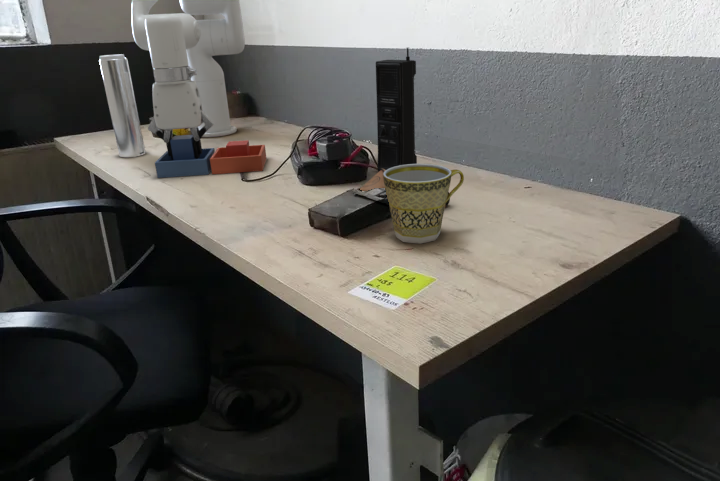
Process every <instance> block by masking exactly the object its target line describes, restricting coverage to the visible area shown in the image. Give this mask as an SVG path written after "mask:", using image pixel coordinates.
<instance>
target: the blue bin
mask: <svg viewBox="0 0 720 481" xmlns="http://www.w3.org/2000/svg"><path fill="white" fill-rule="evenodd" d="M215 151H216V149H215V147H210V148H209V147H207V148H206V147H205V148H202V154H200V157H199V158H198V159H193V160H178V161H174V160H171V156H169V155H168V150H166V152H164V153H163V154H162V155H161V156H160V157H159V158H158V159H157V160H156V161H155V162H154V165H155V166H154V167H155V171H156V172H155V173H156V178H157V179H162V178H177V177H178V178H179V177H192V176H205V175H207V176H208V175H209V174H210V173H211V172H212V170H211V163H210V158H211V157H212V155H213V154H214V152H215Z"/></svg>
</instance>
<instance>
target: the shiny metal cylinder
mask: <svg viewBox="0 0 720 481" xmlns="http://www.w3.org/2000/svg"><path fill="white" fill-rule="evenodd" d="M98 62H99V65H100V72H101V75H102V80H103V81H102V82H103V85H104V91H105V94H106V101H107V104H108V108H109V109H108V110H109V114H110V119H111V123H112V127H113V128H112V129H113V133H114V137H115V142H116V146H117V151H118V155H119V157H120V158H136V157H140V156H143V155H145V154H146V148H145V142H144V138H143V133H142V127H141V122H140V117H139V112H138V106H137V103H136V96H135V91H134V86H133V80H132V76H131V71H130V66H129V61H128V57H125V54H124V53H123V54H122V53H121V54H119V53H118V54H104V55H99V60H98Z"/></svg>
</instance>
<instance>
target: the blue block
mask: <svg viewBox="0 0 720 481" xmlns="http://www.w3.org/2000/svg"><path fill="white" fill-rule="evenodd" d="M193 141H194V140H193V135H192V134H186V135H185V134H182V135H174V136H172V139H171V140H170V143H171V148H172V154H173V160H174V161H178V160H193V159H196V158H195V155H194V149H193Z"/></svg>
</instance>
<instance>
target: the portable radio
mask: <svg viewBox="0 0 720 481" xmlns="http://www.w3.org/2000/svg"><path fill="white" fill-rule="evenodd" d="M409 49H410V48H409V47H406V56H405V59H383V60H376V61H375V87H376V89H375V91H376V92H375V93H376V120H377V121H376V122H377V124H376V126H377V128H376V129H377V171H378V172H379V171H380V168H383V169H385V170H387V169H389V168H392V167H395V166H400V165H407V164H418V156H417V154H416V145H415V144H416V139H415V138H416V137H415V136H416V135H415V133H416V131H415V76H416V74H417V61H416V60H415V59H411V56H409V55H410V52H409Z"/></svg>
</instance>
